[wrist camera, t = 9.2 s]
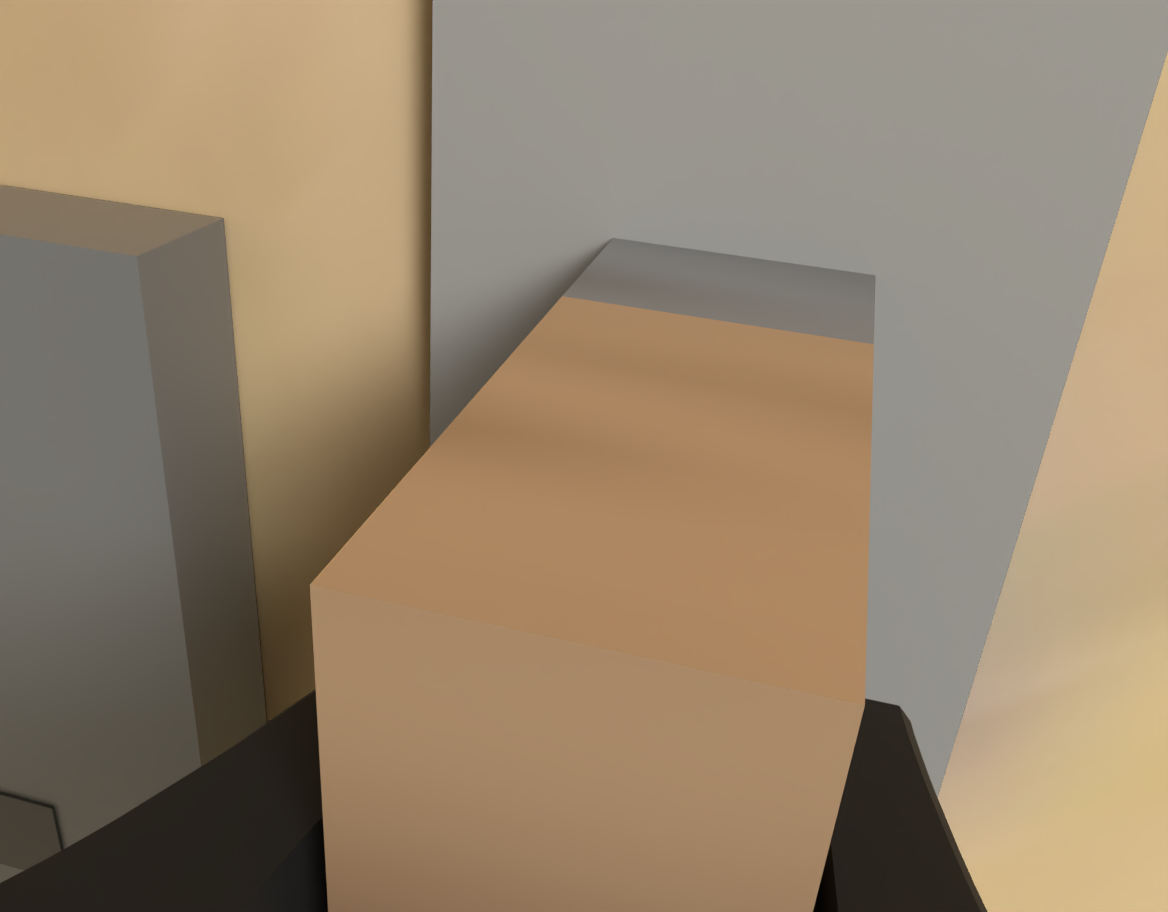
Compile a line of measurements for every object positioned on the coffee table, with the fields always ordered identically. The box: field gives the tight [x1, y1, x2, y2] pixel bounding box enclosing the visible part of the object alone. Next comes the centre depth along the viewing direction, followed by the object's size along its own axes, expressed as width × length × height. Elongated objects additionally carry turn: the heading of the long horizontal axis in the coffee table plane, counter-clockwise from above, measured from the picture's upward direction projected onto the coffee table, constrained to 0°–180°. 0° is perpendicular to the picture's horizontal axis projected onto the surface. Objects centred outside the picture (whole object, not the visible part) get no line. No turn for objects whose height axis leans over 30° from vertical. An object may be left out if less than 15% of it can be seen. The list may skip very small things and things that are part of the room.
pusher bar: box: [310, 238, 876, 912], centre depth 9 cm, size 7×2×6 cm, turn 176°
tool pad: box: [430, 0, 1168, 797], centre depth 11 cm, size 12×6×1 cm, turn 176°
